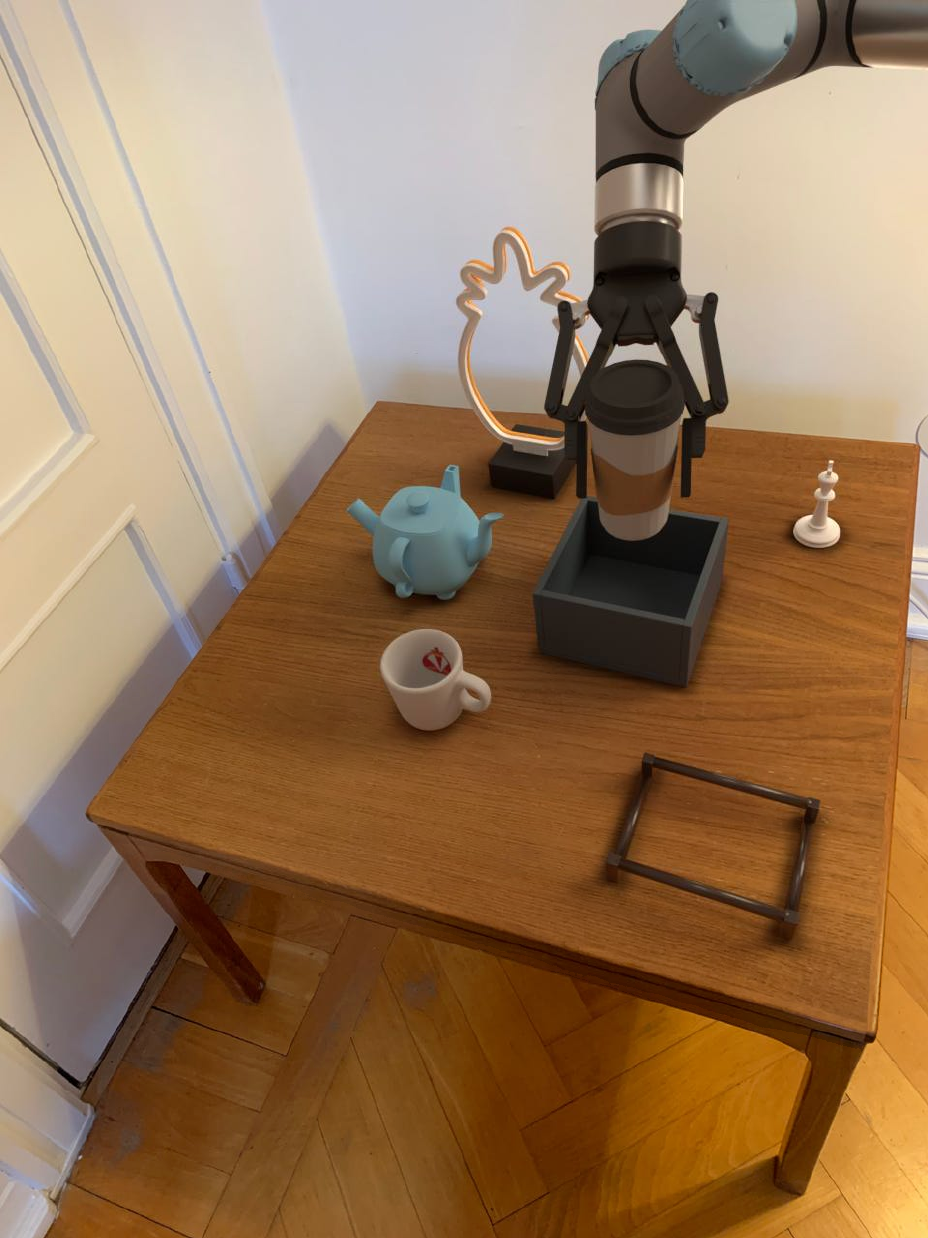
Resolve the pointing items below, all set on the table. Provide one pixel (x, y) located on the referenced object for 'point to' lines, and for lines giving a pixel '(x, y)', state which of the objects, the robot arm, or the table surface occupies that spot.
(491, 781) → the table surface
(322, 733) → the table surface
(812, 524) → the chess piece
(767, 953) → the table surface
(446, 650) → the cup
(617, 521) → the coffee cup
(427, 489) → the teapot
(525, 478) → the lamp
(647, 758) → the rectangular rod frame
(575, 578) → the grey open box
